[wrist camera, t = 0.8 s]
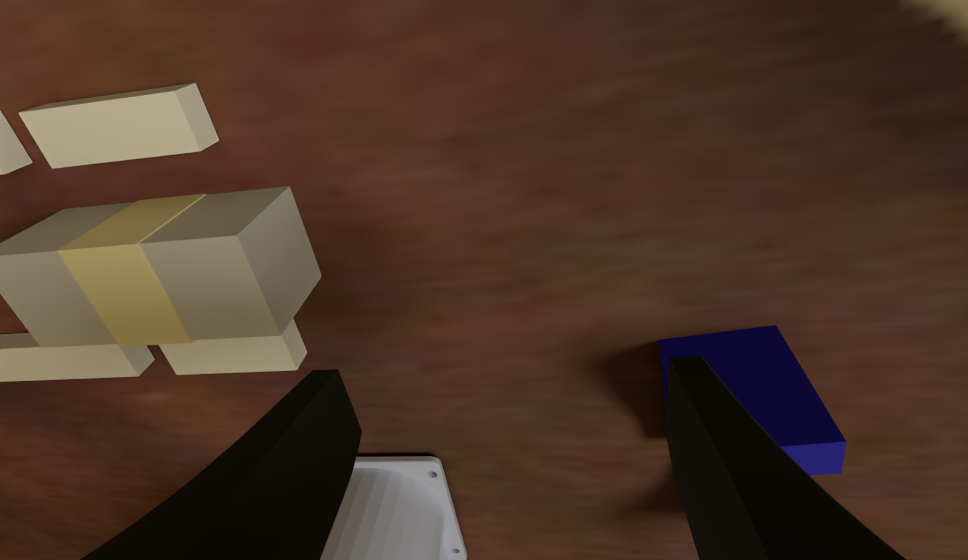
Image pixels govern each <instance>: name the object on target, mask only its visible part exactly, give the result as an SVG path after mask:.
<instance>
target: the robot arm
mask: <svg viewBox="0 0 968 560" xmlns="http://www.w3.org/2000/svg"><path fill="white" fill-rule="evenodd" d="M665 430H666V436H667V441H668V447H669V452H670V458H671V463H672V468H673V473H674V477H675V480H676V483H677V487H678V490H679V493H680V497H681V500H682V503H683V507H684V510H685V513H686V517H687V520H688V523H689V526H690V530H691V533H692V536H693V539H694V543H695V546H696V549H697V552H698V556H699V559H700V560H906V559H905V558H904V557H903V556H901V555H900V554H899V553H898V552H896V551H895V550H894V549H893V548H891V547H890V546H889V545H888V544H887V543H885V542H884V541H883V540H882V539H880V538H879V537H878V536H877V535H876V534H874V533H873V532H872V531H871V530H870V529H868V528H867V527H866V526H865V525H864V524H862V523H861V522H860V521H859V520H858V519H857V518H856V517H854V516H853V515H852V514H851V513H850V512H849V511H847V510H846V509H845V508H844V507H843V506H842V505H841V504H839V503H838V502H837V501H836V500H835V499H834V498H833V497H832V496H831V495H830V494H828V493H827V492H826V491H825V490H824V489H823V488H822V487H821V486H820V485H819V484H818V483H817V482H816V481H815V480H813V479H812V478H811V477H810V476H809V475H808V474H807V473H806V472H805V471H804V470H803V469H802V468H801V467H800V466H799V465H798V464H797V463H796V462H795V461H794V460H793V459H792V458H791V457H790V456H789V455H788V454H787V453H786V452H785V451H784V450H783V449H782V448H781V447H780V446H779V445H778V444H777V443H776V441H775V440H774V439H773V438H772V437H771V436H770V435H769V434H768V433H767V432H766V431H765V430H764V428H763V427H762V426H761V425H760V424H759V423H758V422H757V421H756V420H755V419H754V418H753V417H752V415H751V414H750V413H749V412H748V411H747V410H746V409H745V407H744V406H743V405H742V404H741V403H740V402H739V400H738V399H737V398H736V397H735V396H734V395H733V393H732V392H731V391H730V390H729V389H728V387H727V386H726V385H725V384H724V383H723V381H722V380H721V379H720V378H719V376H718V375H717V374H716V372H715V371H714V370H713V369H712V367H711V366H710V365H709V364H708V362H707V361H706V360H705V359H704V358H703V357H702V356H701V355H699V356H673V357H669V366H668V382H667V399H666V416H665ZM361 434H362V430H361V428H360V425H359V422H358V420H357V417H356V415H355V412H354V409H353V407H352V404H351V402H350V399H349V396H348V394H347V391H346V389H345V386H344V383H343V381H342V378H341V376H340V373H339V370H338V369H336V370H313V371H312V372H311V373H310V374H308V375H307V376H306V377H305V378H304V379H303V380H302V381H301V382H299V383H298V384H297V385H296V386H295V387H294V388H293V389H292V390H291V391H290V392H289V393H288V394H287V395H286V396H285V397H283V398H282V399H281V400H280V401H279V402H278V403H277V404H276V405H275V406H274V407H273V408H272V409H271V410H270V411H269V412H268V413H267V414H265V415H264V416H263V417H262V418H261V419H260V420H259V421H258V422H257V423H256V424H255V425H254V426H253V427H251V428H250V429H249V430H248V431H247V432H246V433H245V434H244V435H243V436H242V437H241V438H240V439H238V440H237V441H236V442H235V443H234V444H233V445H232V446H230V447H229V448H228V449H227V450H226V451H225V452H223V453H222V454H221V455H220V456H219V457H218V458H217V459H215V460H214V461H213V462H212V463H211V464H210V465H208V466H207V467H206V468H205V469H204V470H203V471H202V472H200V473H199V474H198V475H197V476H196V477H194V478H193V479H192V480H191V481H190V482H188V483H187V484H186V485H185V486H183V487H182V488H181V489H180V490H178V491H177V492H176V493H174V494H173V495H172V496H171V497H169V498H168V499H167V500H165V501H164V502H163V503H161V504H160V505H159V506H157V507H156V508H155V509H153V510H152V511H151V512H149V513H148V514H147V515H145V516H144V517H142V518H141V519H140V520H138V521H137V522H136V523H134V524H133V525H131V526H130V527H128V528H127V529H125V530H124V531H122V532H121V533H119V534H118V535H116V536H115V537H113V538H112V539H110V540H109V541H107V542H106V543H104V544H103V545H101V546H100V547H99V548H97V549H96V550H94V551H93V552H91V553H90V554H88V555H87V556H85V557H84V558H82V559H81V560H467V553H466V549H465V546H464V542H463V539H462V535H461V532H460V528H459V524H458V521H457V517H456V514H455V510H454V507H453V503H452V499H451V496H450V492H449V489H448V485H447V482H446V478H445V474H444V471H443V467H442V464H441V461H440V460H439V459H438V458H436V457H433V456H396V457H357V452H358V448H359V443H360V439H361Z"/></svg>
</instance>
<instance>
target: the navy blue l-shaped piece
mask: <svg viewBox="0 0 968 560" xmlns="http://www.w3.org/2000/svg"><path fill="white" fill-rule="evenodd" d="M659 349H660V359H661V369H662V378H663V388H664V398H665V408H666V399H667V382H668V366H669V357H673V356H699V355H701V356H702V357H703V358H704V359H705V360H706V361H707V362H708V364H709V365H710V366H711V367H712V369H713V370H714V371H715V372H716V374H717V375H718V376H719V378H720V379H721V380H722V381H723V383H724V384H725V385H726V386H727V387H728V389H729V390H730V391H731V392H732V393H733V395H734V396H735V397H736V398H737V399H738V400H739V402H740V403H741V404H742V405H743V406H744V407H745V409H746V410H747V411H748V412H749V413H750V414H751V415H752V417H753V418H754V419H755V420H756V421H757V422H758V423H759V424H760V425H761V426H762V427H763V428H764V430H765V431H766V432H767V433H768V434H769V435H770V436H771V437H772V438H773V439H774V440H775V441H776V443H777V444H778V445H779V446H780V447H781V448H782V449H783V450H784V451H785V452H786V453H787V454H788V455H789V456H790V457H791V458H792V459H793V460H794V461H795V462H796V463H797V464H798V465H799V466H800V467H801V468H802V469H803V470H804V471H805V472H806V473H807V474H808V475H823V474H838V473H841V472H842V466H843V459H844V453H845V446H846V440H845V439H844V437H843V435H842V434H841V432H840V431H839V429H838V427H837V426H836V424H835V422H834V421H833V419H832V417H831V416H830V414H829V412H828V411H827V409H826V407H825V406H824V404H823V402H822V401H821V399H820V397H819V396H818V394H817V392H816V391H815V389H814V388H813V386H812V384H811V383H810V381H809V379H808V378H807V376H806V374H805V373H804V371H803V369H802V368H801V366H800V364H799V363H798V361H797V359H796V358H795V356H794V354H793V353H792V351H791V350H790V348H789V346H788V345H787V343H786V341H785V340H784V338H783V336H782V335H781V333H780V331H779V330H778V328H777V326H776V325H775V326H767V327H759V328H751V329H743V330H735V331H727V332H719V333H711V334H703V335H695V336H687V337H679V338H671V339H663V340H659Z"/></svg>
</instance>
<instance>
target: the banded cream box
mask: <svg viewBox="0 0 968 560" xmlns="http://www.w3.org/2000/svg"><path fill="white" fill-rule="evenodd" d="M321 277H322V275H321V272H320V270H319V267H318V264H317V261H316V258H315V256H314V253H313V250H312V247H311V245H310V242H309V239H308V236H307V233H306V231H305V228H304V225H303V222H302V220H301V217H300V214H299V211H298V208H297V206H296V203H295V200H294V197H293V195H292V192H291V189H290V186H288V187H278V188H268V189H258V190H248V191H239V192H229V193H219V194H209V195H206V194H197V195H187V196H177V197H167V198H157V199H148V200H138V201H136V202H130V203H120V204H110V205H100V206H91V207H81V208H71V209H63V210H61V211H59V212H57V213H55V214H54V215H52V216H50V217H48V218H46V219H44V220H42V221H41V222H39V223H37V224H35V225H33V226H31V227H30V228H28V229H26V230H24V231H22V232H20V233H18V234H17V235H15V236H13V237H11V238H9V239H7V240H6V241H4V242H2V243H0V294H1V295H2V297H3V298H4V299H5V301H6V302H7V303H8V305H9V306H10V307H11V309H12V310H13V311H14V312H15V314H16V315H17V316H18V318H19V319H20V320H21V322H22V323H23V324H24V326H25V327H26V328H27V330H28V331H29V332H30V333H31V335H32V336H33V337H34V339H35V340H36V341H37V343H38V344H39V345H40V347H41V348H48V347H67V346H87V345H107V344H118V345H119V347H121V346H141V345H161V344H181V343H192V342H193V341H194V340H206V339H225V338H245V337H265V336H281V335H282V333H283V332H284V331H285V329H286V328H287V326H288V325H289V323H290V322H291V320H292V319H293V317H294V316H295V314H296V313H297V312H298V310H299V309H300V307H301V306H302V304H303V303H304V301H305V300H306V298H307V297H308V296H309V294H310V293H311V291H312V290H313V288H314V287H315V285H316V284H317V282H318V281H319V279H320V278H321Z"/></svg>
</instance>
